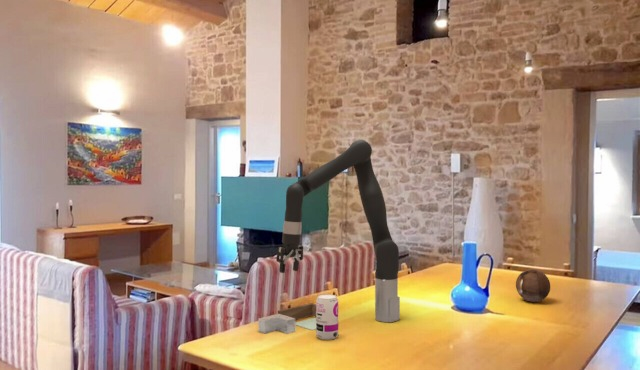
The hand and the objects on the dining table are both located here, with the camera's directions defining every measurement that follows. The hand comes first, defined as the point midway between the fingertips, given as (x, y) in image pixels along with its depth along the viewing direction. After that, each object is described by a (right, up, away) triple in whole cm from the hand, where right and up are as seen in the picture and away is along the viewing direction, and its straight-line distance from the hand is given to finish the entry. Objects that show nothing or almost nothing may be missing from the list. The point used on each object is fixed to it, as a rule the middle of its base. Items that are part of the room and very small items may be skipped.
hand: (288, 271), depth 219 cm
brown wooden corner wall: (+7, -20, -2) cm, 21 cm away
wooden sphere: (+113, -19, +31) cm, 118 cm away
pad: (+10, -20, -5) cm, 23 cm away
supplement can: (+15, -21, -22) cm, 34 cm away
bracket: (-4, -21, -15) cm, 25 cm away
